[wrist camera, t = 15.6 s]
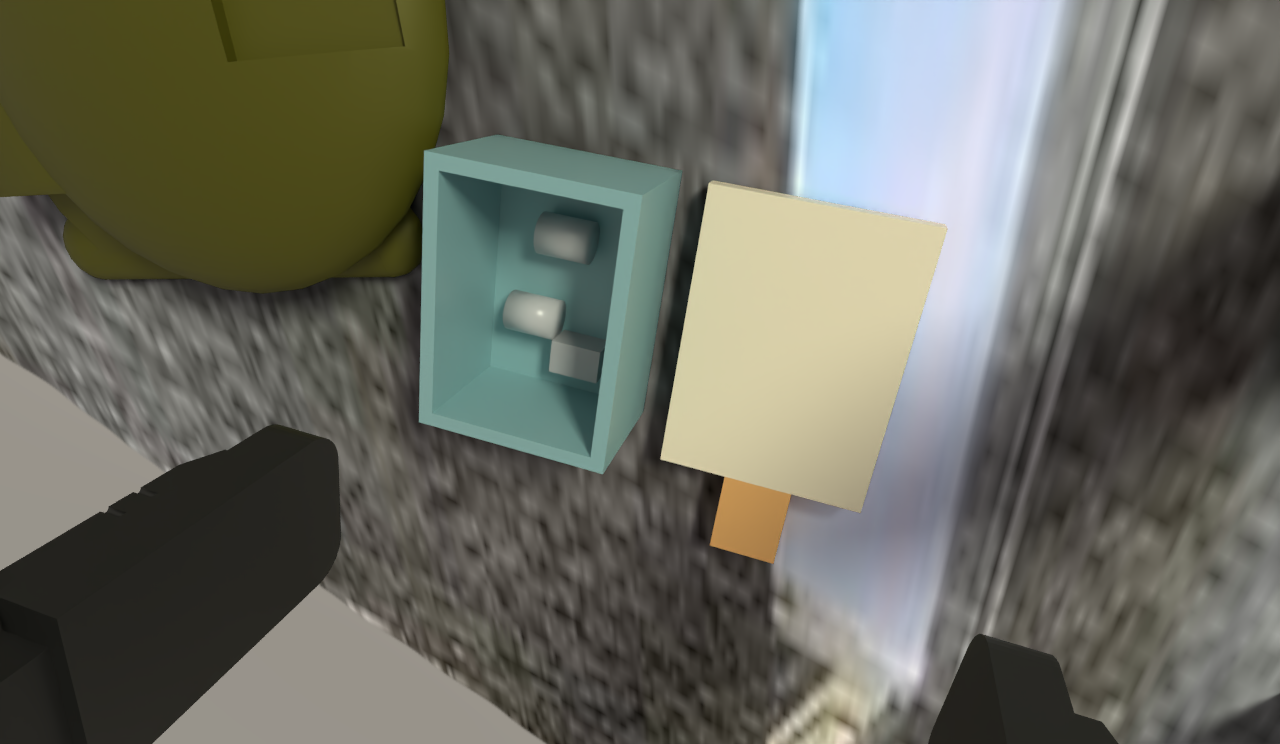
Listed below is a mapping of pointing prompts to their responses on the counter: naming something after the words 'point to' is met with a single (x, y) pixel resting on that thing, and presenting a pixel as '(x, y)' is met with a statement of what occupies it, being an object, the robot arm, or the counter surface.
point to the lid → (793, 352)
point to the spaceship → (225, 133)
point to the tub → (541, 294)
